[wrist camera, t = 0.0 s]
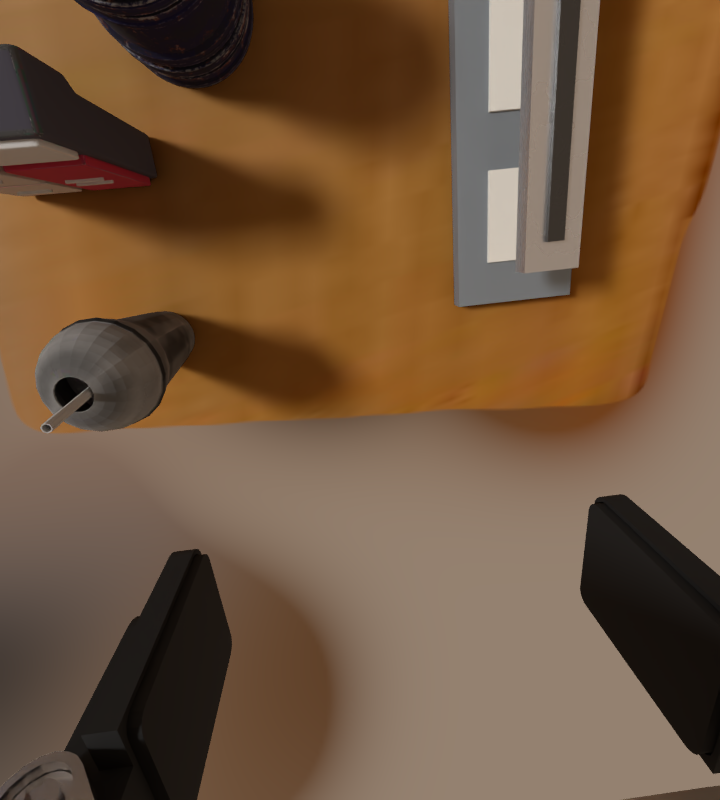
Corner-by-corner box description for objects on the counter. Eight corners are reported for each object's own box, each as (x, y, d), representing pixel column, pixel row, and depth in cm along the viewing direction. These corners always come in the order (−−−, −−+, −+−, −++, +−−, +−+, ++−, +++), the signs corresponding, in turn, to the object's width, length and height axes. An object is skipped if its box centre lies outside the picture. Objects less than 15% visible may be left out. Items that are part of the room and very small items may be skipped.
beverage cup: (119, 294, 37) (-95, 352, 18) (206, 295, 37) (84, 351, 19) (133, 375, 39) (-41, 498, 21) (214, 375, 40) (115, 494, 21)
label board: (446, -114, 29) (474, -198, 23) (589, -125, 29) (651, -211, 24) (454, 304, 39) (475, 315, 34) (560, 292, 39) (599, 301, 34)
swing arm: (530, -221, 23) (551, -268, 21) (602, -226, 23) (630, -274, 21) (515, 271, 32) (528, 274, 30) (567, 266, 32) (583, 268, 30)
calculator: (21, 200, 34) (-195, 173, 20) (0, 138, 32) (-250, 60, 18) (162, 188, 34) (47, 153, 20) (147, 126, 33) (13, 41, 19)
